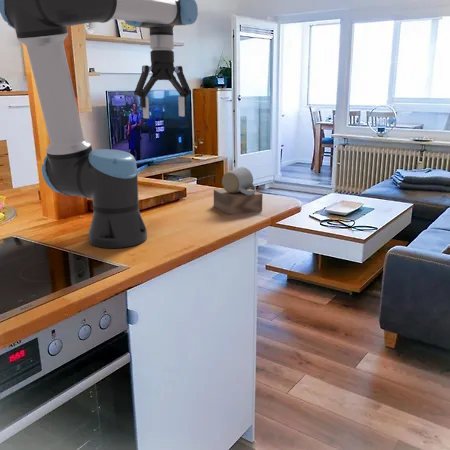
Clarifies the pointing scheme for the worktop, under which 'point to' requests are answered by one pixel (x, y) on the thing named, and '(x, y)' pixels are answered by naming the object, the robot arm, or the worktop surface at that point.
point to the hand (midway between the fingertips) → (164, 117)
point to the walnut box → (237, 202)
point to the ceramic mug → (238, 181)
